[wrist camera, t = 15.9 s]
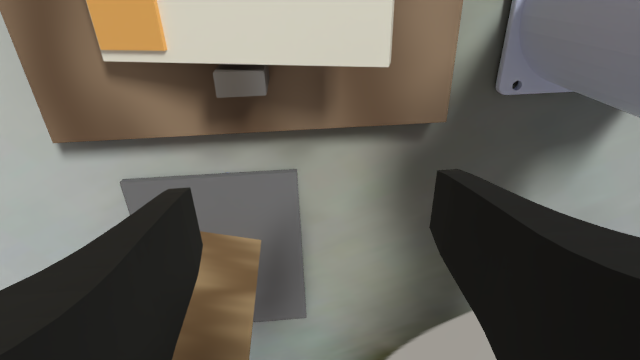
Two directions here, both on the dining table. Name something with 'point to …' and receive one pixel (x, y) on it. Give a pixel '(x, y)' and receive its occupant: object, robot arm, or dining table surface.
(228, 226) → the rest mat
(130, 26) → the white two-tone slab
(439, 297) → the dining table surface
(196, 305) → the wood grain block
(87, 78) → the switch panel
